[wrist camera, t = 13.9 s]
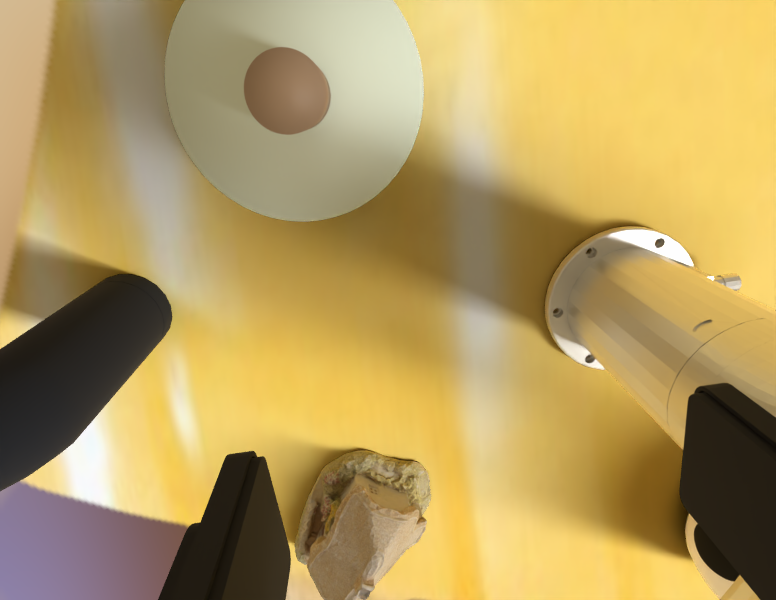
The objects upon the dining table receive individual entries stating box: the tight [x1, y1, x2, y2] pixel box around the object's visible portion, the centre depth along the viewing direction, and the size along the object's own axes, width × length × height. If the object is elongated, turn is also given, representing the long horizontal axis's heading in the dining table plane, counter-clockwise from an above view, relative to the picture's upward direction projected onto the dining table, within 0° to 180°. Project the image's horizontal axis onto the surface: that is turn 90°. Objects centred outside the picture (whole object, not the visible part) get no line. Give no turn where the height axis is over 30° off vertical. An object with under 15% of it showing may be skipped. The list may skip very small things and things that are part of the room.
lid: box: [164, 0, 424, 222], centre depth 28 cm, size 15×15×6 cm
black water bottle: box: [0, 274, 172, 491], centre depth 27 cm, size 6×6×30 cm
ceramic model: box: [295, 450, 431, 600], centre depth 45 cm, size 14×11×10 cm
